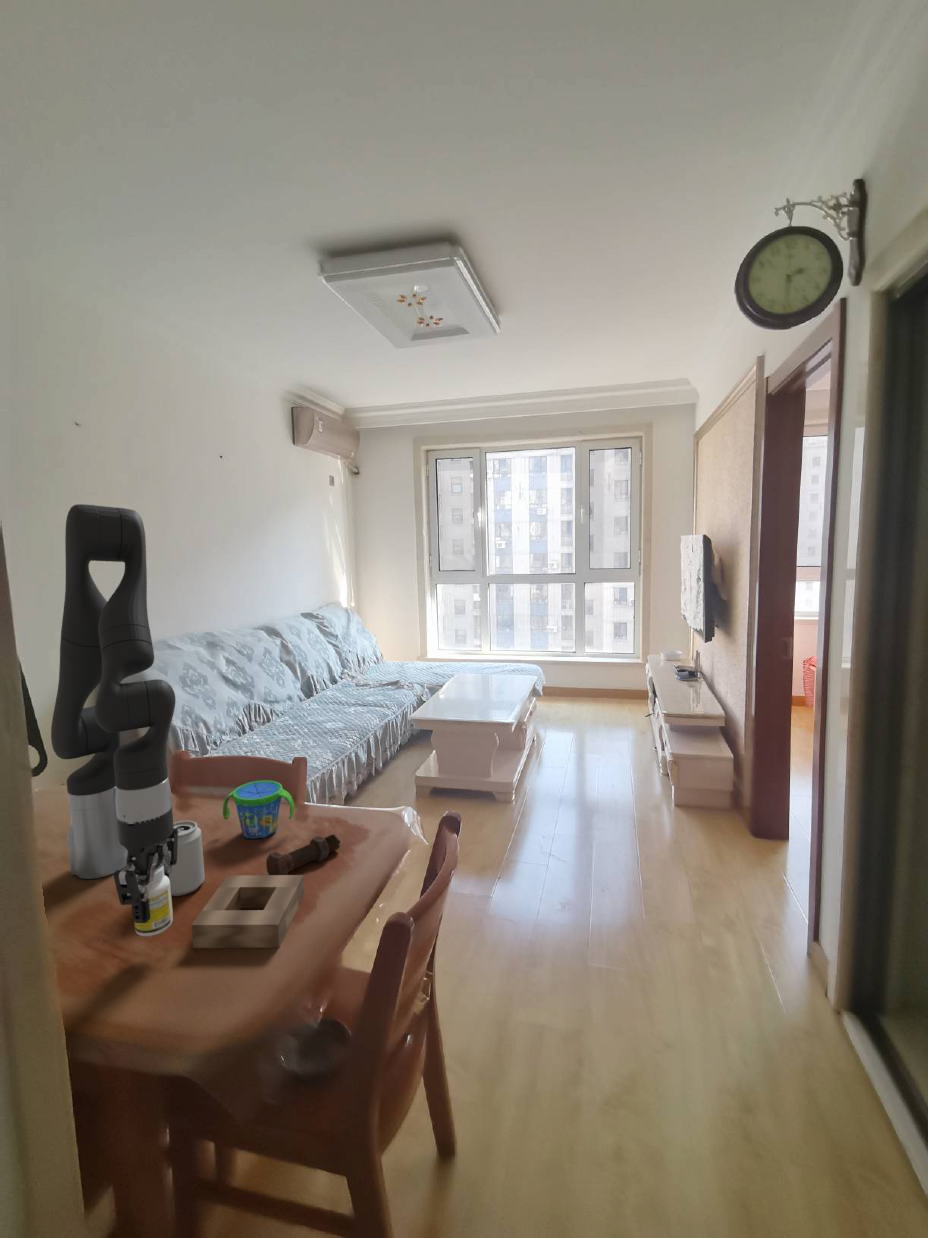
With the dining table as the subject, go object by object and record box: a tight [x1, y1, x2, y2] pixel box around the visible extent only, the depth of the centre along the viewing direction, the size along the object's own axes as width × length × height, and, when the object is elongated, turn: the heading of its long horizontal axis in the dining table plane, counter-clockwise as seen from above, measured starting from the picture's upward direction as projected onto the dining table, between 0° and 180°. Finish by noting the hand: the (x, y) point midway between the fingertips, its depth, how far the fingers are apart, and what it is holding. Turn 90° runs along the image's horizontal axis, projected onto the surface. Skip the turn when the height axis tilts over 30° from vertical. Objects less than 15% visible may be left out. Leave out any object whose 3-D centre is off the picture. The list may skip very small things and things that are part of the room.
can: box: [168, 820, 206, 897], centre depth 110 cm, size 8×8×12 cm
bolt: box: [265, 833, 341, 875], centre depth 118 cm, size 6×5×15 cm
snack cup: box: [222, 780, 295, 839], centre depth 131 cm, size 16×10×10 cm
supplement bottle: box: [133, 864, 174, 937], centre depth 92 cm, size 5×5×10 cm
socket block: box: [190, 874, 305, 949], centre depth 100 cm, size 14×14×4 cm
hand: (152, 908), depth 92 cm, fingers closed on supplement bottle, 5 cm apart
